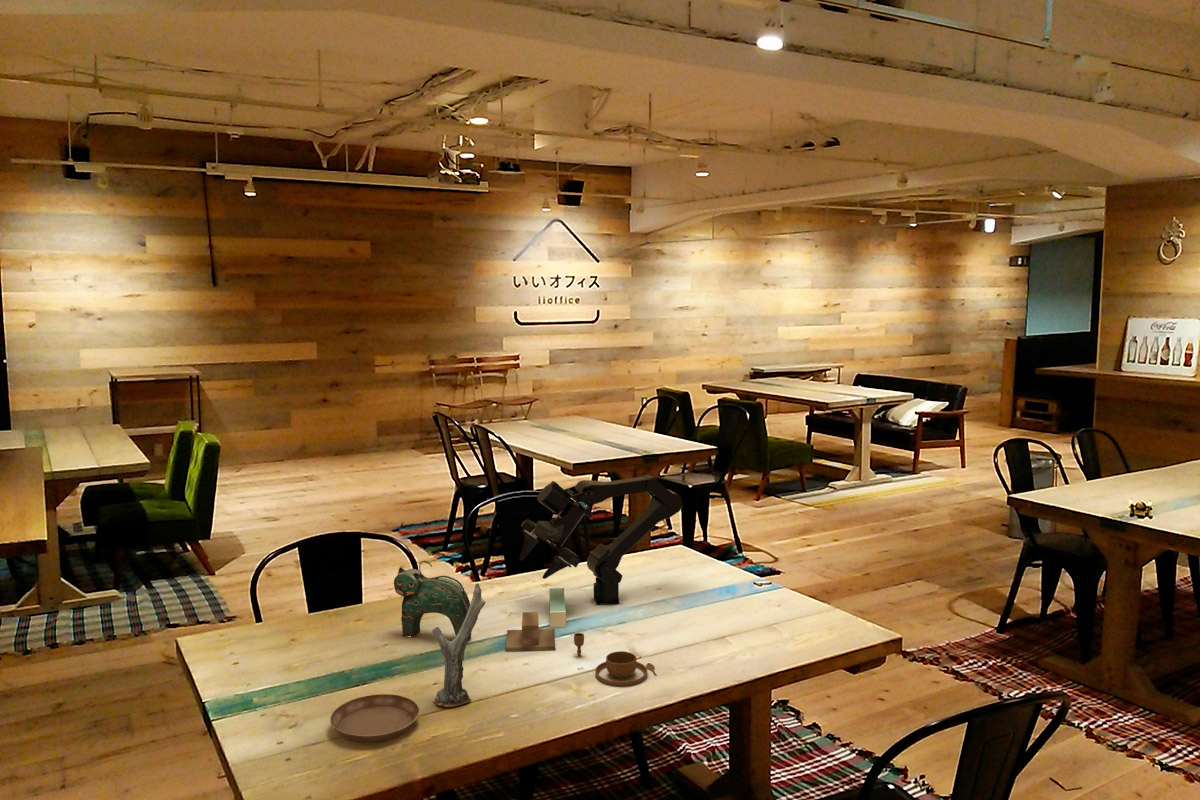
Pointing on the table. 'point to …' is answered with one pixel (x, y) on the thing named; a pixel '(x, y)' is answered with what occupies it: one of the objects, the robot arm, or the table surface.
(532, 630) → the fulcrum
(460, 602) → the ceramic cat
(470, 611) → the bare tree trunk
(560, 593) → the bar
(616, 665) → the place setting
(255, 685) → the table surface
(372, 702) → the plant saucer
